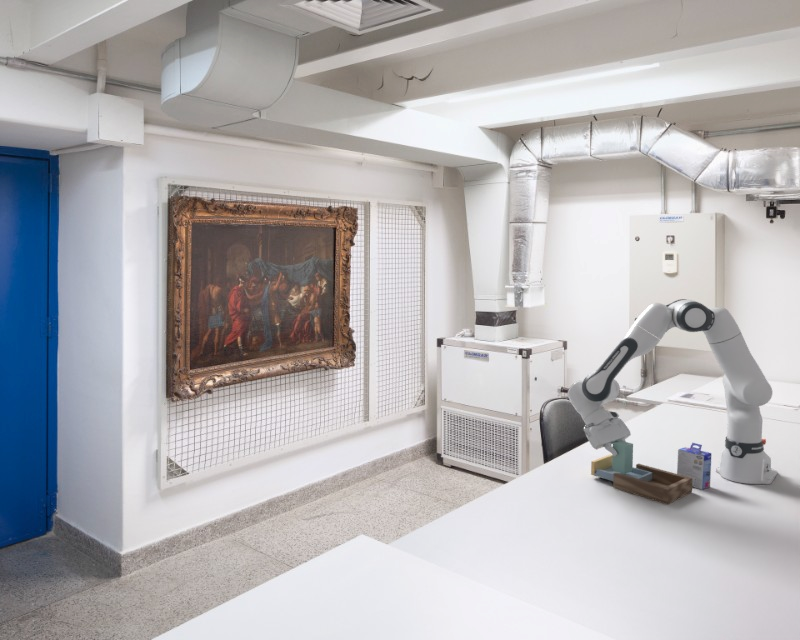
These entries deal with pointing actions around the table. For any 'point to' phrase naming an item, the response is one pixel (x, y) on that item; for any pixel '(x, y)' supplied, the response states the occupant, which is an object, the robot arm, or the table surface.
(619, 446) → the block
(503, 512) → the table surface
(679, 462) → the ink cartridge box
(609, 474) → the tray
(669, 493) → the dock
